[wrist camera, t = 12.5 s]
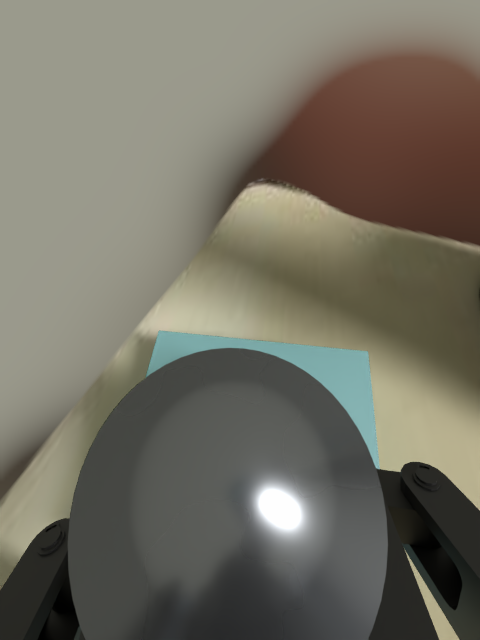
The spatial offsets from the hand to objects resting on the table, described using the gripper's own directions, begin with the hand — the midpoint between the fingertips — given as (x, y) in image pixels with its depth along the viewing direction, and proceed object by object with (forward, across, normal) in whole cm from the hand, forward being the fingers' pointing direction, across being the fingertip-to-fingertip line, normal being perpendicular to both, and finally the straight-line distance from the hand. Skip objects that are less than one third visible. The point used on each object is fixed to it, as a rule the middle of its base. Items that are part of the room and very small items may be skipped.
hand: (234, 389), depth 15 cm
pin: (+2, 0, -8) cm, 8 cm away
